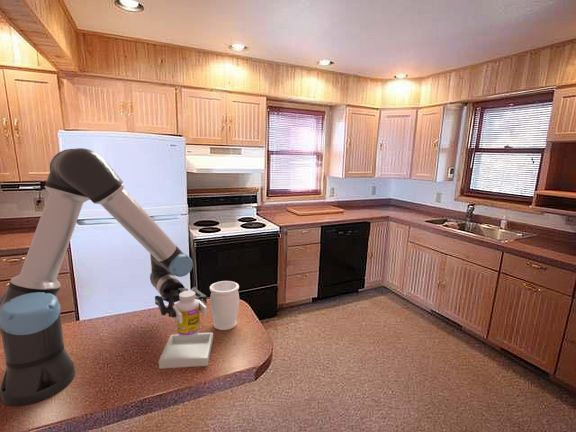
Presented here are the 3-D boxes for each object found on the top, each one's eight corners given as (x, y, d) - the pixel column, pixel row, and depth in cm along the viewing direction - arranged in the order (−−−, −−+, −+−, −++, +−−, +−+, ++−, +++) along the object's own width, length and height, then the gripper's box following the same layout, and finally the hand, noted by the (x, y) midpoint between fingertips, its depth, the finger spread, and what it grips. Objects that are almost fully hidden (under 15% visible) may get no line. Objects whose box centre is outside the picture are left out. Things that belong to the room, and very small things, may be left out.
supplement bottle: (188, 341, 89) (185, 300, 86) (172, 334, 92) (170, 295, 90) (204, 330, 94) (203, 292, 92) (190, 324, 98) (188, 287, 95)
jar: (205, 323, 111) (204, 285, 109) (229, 314, 118) (229, 278, 116) (220, 335, 103) (219, 294, 101) (245, 325, 110) (244, 286, 108)
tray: (159, 368, 86) (158, 360, 86) (171, 341, 100) (171, 334, 99) (207, 365, 88) (207, 357, 88) (213, 339, 101) (213, 332, 101)
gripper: (198, 291, 112) (225, 317, 94) (141, 306, 101) (159, 338, 83) (197, 272, 111) (224, 294, 93) (139, 285, 99) (157, 312, 81)
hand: (193, 315), depth 88 cm, fingers closed on supplement bottle, 7 cm apart
